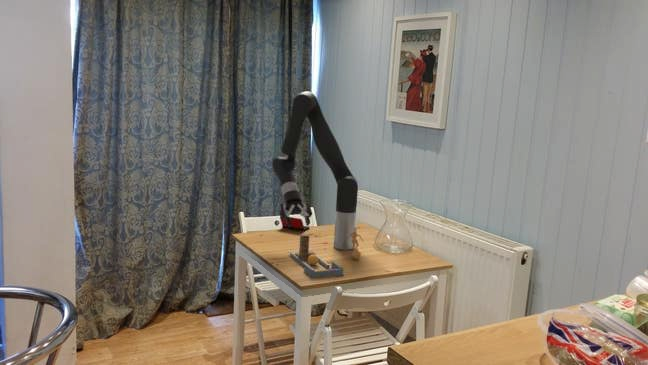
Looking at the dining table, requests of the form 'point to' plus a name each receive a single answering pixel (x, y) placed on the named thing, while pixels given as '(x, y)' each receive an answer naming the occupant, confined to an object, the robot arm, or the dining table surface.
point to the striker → (304, 248)
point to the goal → (324, 271)
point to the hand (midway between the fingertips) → (299, 225)
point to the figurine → (355, 254)
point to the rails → (305, 263)
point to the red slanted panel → (294, 224)
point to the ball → (313, 259)
